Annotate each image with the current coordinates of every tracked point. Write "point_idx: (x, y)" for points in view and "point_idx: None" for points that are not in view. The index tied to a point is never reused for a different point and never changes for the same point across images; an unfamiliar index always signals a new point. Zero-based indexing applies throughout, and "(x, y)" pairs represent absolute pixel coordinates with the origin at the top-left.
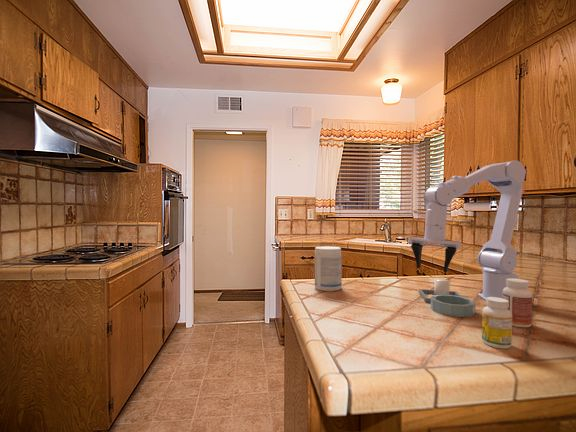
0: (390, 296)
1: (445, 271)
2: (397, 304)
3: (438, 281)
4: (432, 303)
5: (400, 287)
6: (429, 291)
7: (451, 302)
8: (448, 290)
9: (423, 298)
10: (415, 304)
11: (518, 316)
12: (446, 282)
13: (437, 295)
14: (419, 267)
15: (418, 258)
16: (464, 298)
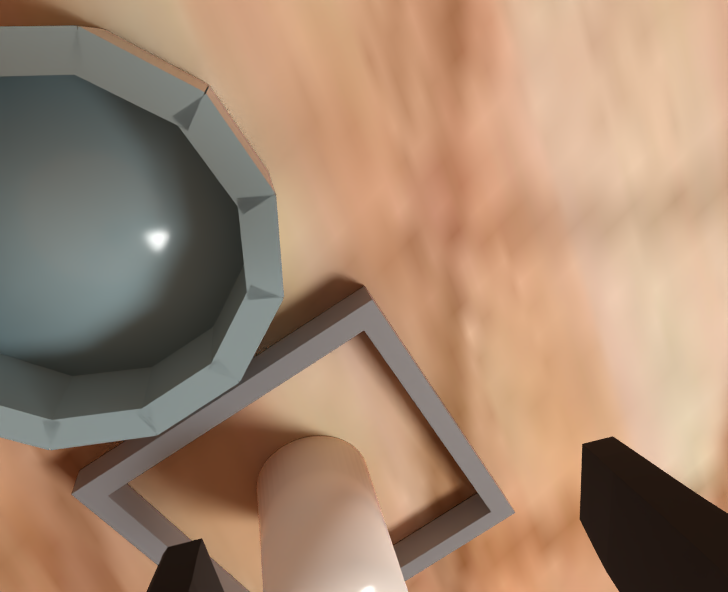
0: (645, 223)
1: (171, 555)
2: (526, 17)
3: (348, 556)
4: (215, 101)
5: None
6: (435, 535)
7: (158, 369)
8: (261, 543)
9: (408, 351)
10: (402, 154)
11: None
12: (277, 588)
13: (254, 310)
14: (585, 480)
15: (714, 560)
16: (14, 410)
